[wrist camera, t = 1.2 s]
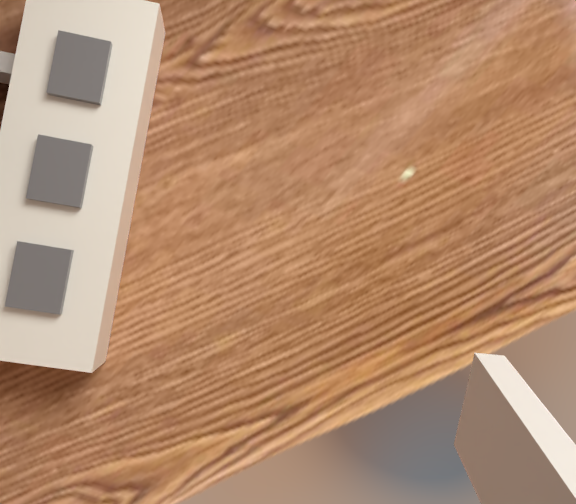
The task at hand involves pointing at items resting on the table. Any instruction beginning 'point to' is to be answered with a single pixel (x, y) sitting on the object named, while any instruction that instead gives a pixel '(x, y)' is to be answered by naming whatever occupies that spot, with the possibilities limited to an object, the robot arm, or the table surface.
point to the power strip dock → (71, 173)
